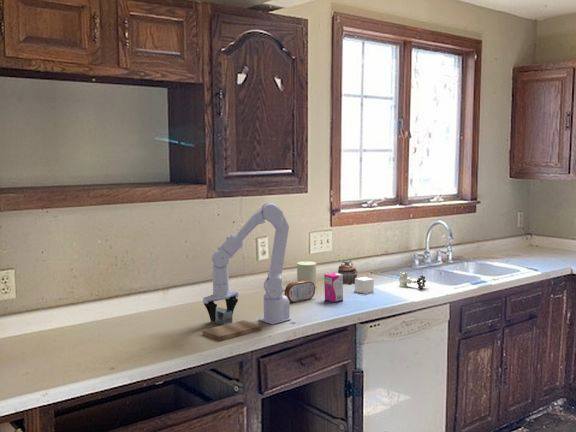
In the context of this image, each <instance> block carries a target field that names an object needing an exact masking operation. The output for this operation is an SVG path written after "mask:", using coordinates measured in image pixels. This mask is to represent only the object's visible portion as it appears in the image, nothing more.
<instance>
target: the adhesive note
mask: <svg viewBox="0 0 576 432" xmlns="http://www.w3.org/2000/svg"><path fill="white" fill-rule="evenodd" d="M374 284H375V283H374V279H373V278H370V277H367V276H362V277H361V276H360V277H357V278H355V283H354V292H357V293H359V294H369V293H374V287H375V286H374Z"/></svg>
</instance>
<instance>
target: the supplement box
mask: <svg viewBox="0 0 576 432" xmlns="http://www.w3.org/2000/svg"><path fill="white" fill-rule="evenodd" d="M323 277H324V278H323V279H324V301H326V302H329V303H332V304H334V303H339V302H344V287H343V286H344V283H343V275H342V274H338V272H337V273H336V272H331V273H324V276H323Z"/></svg>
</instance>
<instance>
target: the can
mask: <svg viewBox="0 0 576 432" xmlns="http://www.w3.org/2000/svg"><path fill="white" fill-rule="evenodd" d="M303 280H309V281H311V282H312V283H314V285H315V289H316V288H317V262H315V261H310V260H309V261H307V260H306V261H298V262H296V281H303Z"/></svg>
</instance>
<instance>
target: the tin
mask: <svg viewBox="0 0 576 432" xmlns="http://www.w3.org/2000/svg"><path fill="white" fill-rule="evenodd" d="M315 293H316V288H315V285H314V283H312V282H311V281H309V280H303V281H297V280H295V281H292V282H289V283H288V284H287V285H286V287H285V288H284V295H285V296H286V297H287V298H288V300H289V302H292V303H298V302H303V301H308V300H311V299H312V298H313V297H314V296H315Z"/></svg>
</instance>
